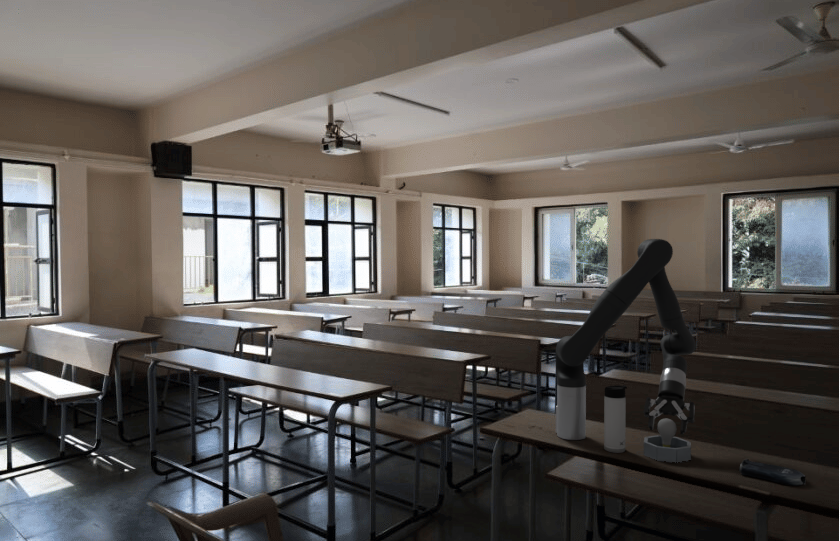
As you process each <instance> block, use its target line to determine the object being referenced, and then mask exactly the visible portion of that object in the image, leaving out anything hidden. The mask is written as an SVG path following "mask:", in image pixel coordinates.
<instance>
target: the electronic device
mask: <svg viewBox="0 0 840 541" xmlns="http://www.w3.org/2000/svg"><path fill="white" fill-rule="evenodd" d="M739 465H740V466H739V472H740V474H741V475H743V476H748V477H752V478H756V477H757V479H761V480H766V481H767V480H768V481H771V482H773V483H777V484H781V485H785V486H795V487H797V486H802V485H806V482H807V479H806V475H805V474H804V473H802V472H801V471H799V470H797V469H794V468H789V467H785V466H780V465H776V464H772V463H771V464H768V463H763V462H760V461H752V460H750V459H748V458H745V459H743V460H742V461H741V463H740V464H739Z"/></svg>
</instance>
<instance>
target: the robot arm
mask: <svg viewBox="0 0 840 541" xmlns="http://www.w3.org/2000/svg"><path fill="white" fill-rule="evenodd" d="M673 254H674V249H673V246H672V245H671V243H670V242H669V241H667V240H666V239H662V238H650V239H648V238H647V239H646V240H643V241H642V242H641V243H640V244H639V245H638V247H637V258H638V259H637V260H636V261H635V263H634V264H633V265H632V266H631V267H630V268H629V269H628V270H627V271H626V272H624V273H623V274H622V275H620V276H619V277H618V278H616V279H615V280H614V281H613V282H611V284H609V285H608V286H607V288H605V290H603V292H602V293H601V294H600V296H598V298H597V299H596V300H595V302H594V303H593V305H592V308H590V311H589V314H588V315H587V317H586V319H585V320H584V322H583V323H582V324H581V326H580V327H579V328H578V329H577V330H576V331H575V332H574V333H573V334H572V335H566V336H563V337H561V338H560V339H559V340H558V341H557V344H556V347H555V375H556V383H557V386H556V390H557V391H556V392H557V393H556V394H557V395H556V396H557V397H556V400H557V401H556V404H557V405H556V406H555V434H556V433H557V434H556V435H557V436H556V437H558V438H560V439H563V440H569V441H579V440H584V439H586V430H587V428H586V427H587V424H586V423H587V422H586V421H587V420H586V418H587V417H586V413H587V404H586V403H587V402H586V401H587V399H586V398H587V395H586V394H587V390H586V389H587V386H586V384H587V379H586V374H585V367H584V364H585V363H584V362H585V361H586V360H587V359H588V358H589V356H590V354H591V353H592V352H593V350H594V348H595V347H596V346H597V344H598V342H600V340H601V338H602V337H603V336H604V335H605V334H606V333H607V332H608V331H609V330H610V329H611V328H612V327H613V326H614V325H615V323H616V322H617V321H619V319H620V318H621V317H622V315H624V314H625V312H626V311H627V310H628V309H629V308H630V307H631V305H632V304H633V303H634V301H635V300H636V299H637V297H638V296H639V295H640V294H641V292H642V291H643V290H644V288H645V287H646V286H647V284H649V287H650V290H651V293H652V296H653V298H654V299H653V300H654V302H655V306H656V310H657V314H658V318H659V322H660V324H661V327H662V328H663V329H666V330H667V329H668V330H673V331H675V332H676V333H673V334H666V335H664V336H663V337H662V338H661V340H660V348H661V352H662V359H663V364H662V369H661V370H662V372H661V374H660V379H659V386H658V393H657V398H655V399H653V398H651V397H650V396H647V397H646V399H645V402H644V406H643V416H644V417H645V418H647V419H648V421H647V422H648V423H647V425H648V429H650V431H654V429H655V428H654V427H655V419H656V418H657V417H660V416H661V415H662V414H663V415H664V416H668V415H669V416H677V417H678V419H680V420H681V422H680V430H679V432H680V435H684V434H686V432H687V427H688V424H690V423H691V424H694V423H695V409H696V408H695V407H696V406H695V403H694V402H693V401H690V402H685V392H686V388H687V385H686V384H687V377H686V376H687V368H688V361H687V360H686V359H685V357H683V355H684V356H685V355H691V354H693V353H695V350H696V341H695V339H694V338H695V337H694V336H693V335H692V333H691V331H690V330H689V328H688V325H686V322H685V320H684V318H683V315H682V310H681V305H680V303H679V300H678V298H677V294H676V293H675V290H674V289H673V288H672V285H671V283H670V281H669V279H668V276H667V272H666V269H665V267H666V266H668V264H669V263H670V261H671V260H672V257H673ZM654 405H655V407H654V408H653V410H652V411H651V407H653V406H654ZM685 408H686V410H687V411H688V412H689V415H688V416H686V415H685V413H684V411H683V410H684V409H685Z"/></svg>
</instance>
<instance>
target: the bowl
mask: <svg viewBox="0 0 840 541" xmlns="http://www.w3.org/2000/svg"><path fill="white" fill-rule="evenodd" d="M643 439H644V440H643V456H644V457H647V458H649V457H650V459H652V460H654V459H655V460H654V461H656V460H657V462H664V461H666V462H665V463H672V462H675V463H674V464H679V463H678V462H680V463H683V462H682V461H686V462H689V461H688V460H691V461H692V445H691V444H692V443H691V441H689V440H686V439H683V438H681V437H677V436H673V438H672V439H671V445H670V447H663V440H662V438H661V436H660V434H659V435H658V434H657V435H649V436H644V438H643ZM676 462H677V463H676Z"/></svg>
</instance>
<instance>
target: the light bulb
mask: <svg viewBox="0 0 840 541" xmlns="http://www.w3.org/2000/svg"><path fill="white" fill-rule="evenodd" d="M676 424H677V423H675V421H674V420H673V419H670V418H668V417H667V418H666V417H664V418H662V419H660V420H659V421H658V423H657V424H656V429H657V432H658V434H659V435H660V436H661V438H662V440H663V447H670V445H671V439H672V438H673V437H675V435H676V433H677V429H678V428H677V427H678V426H677V425H676Z"/></svg>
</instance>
